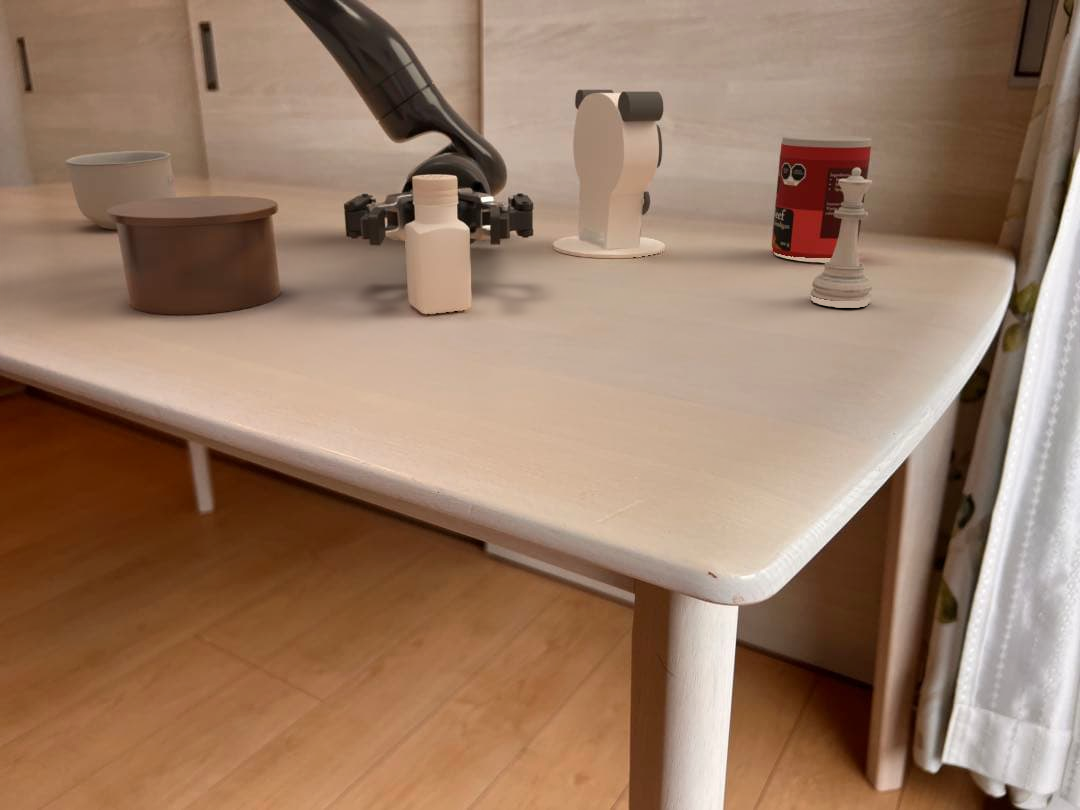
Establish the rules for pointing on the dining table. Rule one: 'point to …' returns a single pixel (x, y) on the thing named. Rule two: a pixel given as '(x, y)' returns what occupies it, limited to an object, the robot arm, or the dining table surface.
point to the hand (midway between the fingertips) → (434, 230)
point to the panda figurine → (614, 172)
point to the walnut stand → (198, 253)
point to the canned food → (814, 191)
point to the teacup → (119, 181)
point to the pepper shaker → (437, 248)
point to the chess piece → (846, 248)
